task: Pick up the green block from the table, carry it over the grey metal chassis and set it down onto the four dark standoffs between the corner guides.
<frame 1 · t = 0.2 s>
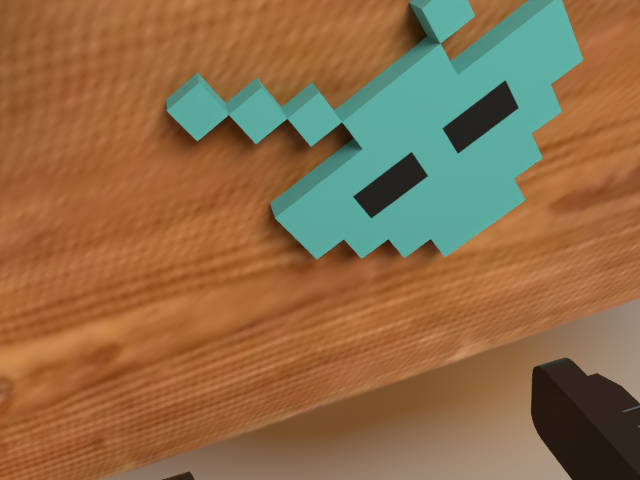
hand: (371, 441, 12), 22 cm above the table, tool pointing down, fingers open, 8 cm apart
alien figure: (403, 112, 33), on the table
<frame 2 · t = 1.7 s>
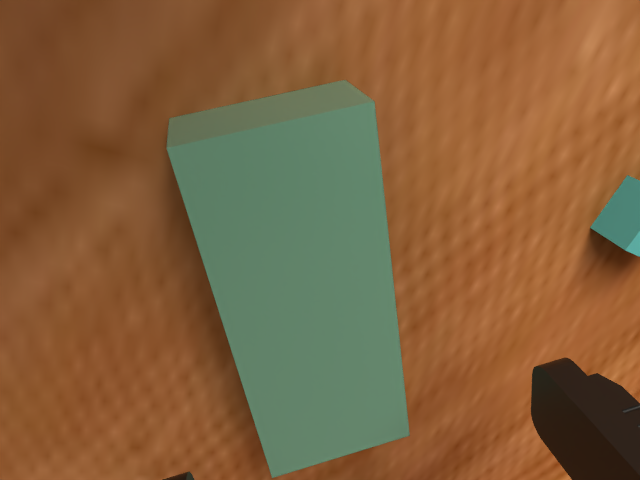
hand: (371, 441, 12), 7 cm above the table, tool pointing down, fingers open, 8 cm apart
green block: (295, 270, 18), on the table
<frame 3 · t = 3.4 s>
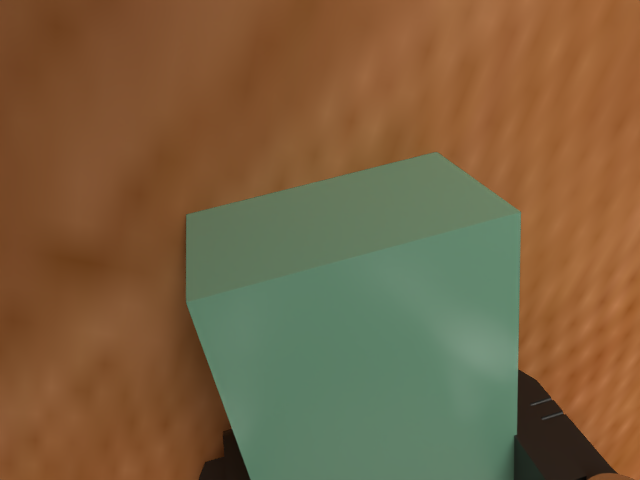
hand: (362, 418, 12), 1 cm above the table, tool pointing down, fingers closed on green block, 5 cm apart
green block: (357, 403, 13), on the table, touching gripper
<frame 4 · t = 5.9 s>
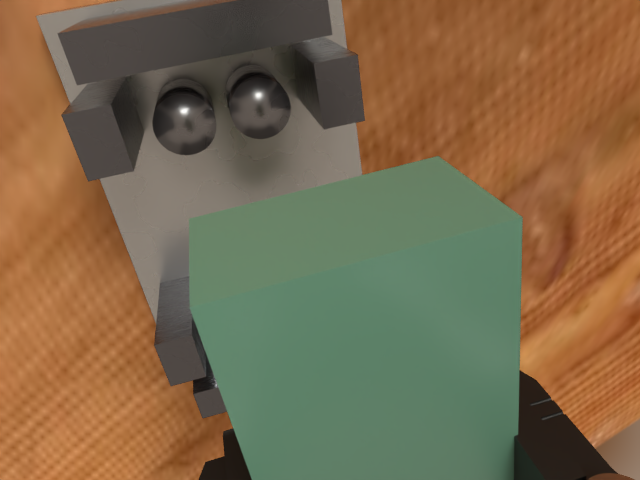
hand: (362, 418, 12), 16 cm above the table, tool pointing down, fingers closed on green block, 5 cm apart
chassis: (240, 184, 26), on the table
green block: (358, 406, 13), point 15 cm above the table, touching gripper
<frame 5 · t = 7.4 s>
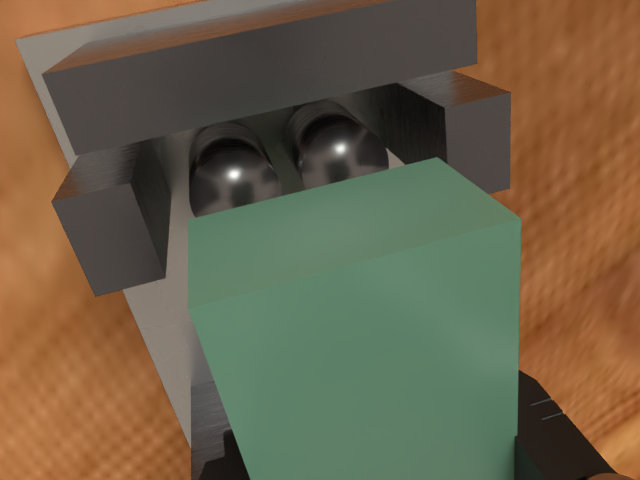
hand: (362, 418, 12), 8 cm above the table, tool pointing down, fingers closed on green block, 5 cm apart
chassis: (296, 256, 19), on the table
green block: (357, 407, 13), point 8 cm above the table, touching gripper
when the fingers open (6 cm above the table, at t = 8.7 s): green block drops 1 cm, resting on chassis.
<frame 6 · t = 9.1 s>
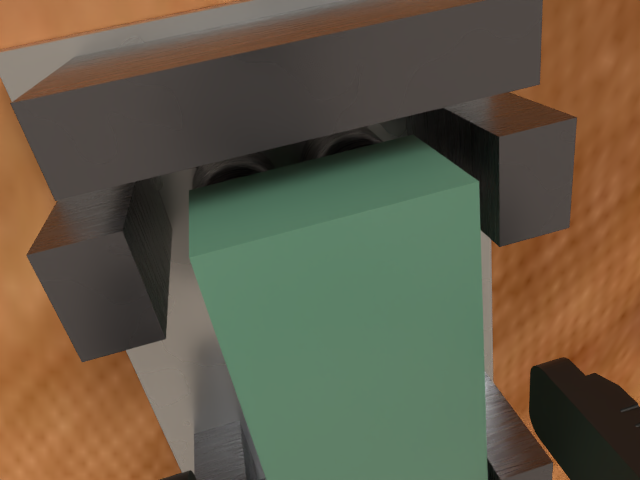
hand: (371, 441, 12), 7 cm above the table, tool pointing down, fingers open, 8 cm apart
chassis: (311, 288, 18), on the table
green block: (345, 368, 14), point 4 cm above the table, touching chassis
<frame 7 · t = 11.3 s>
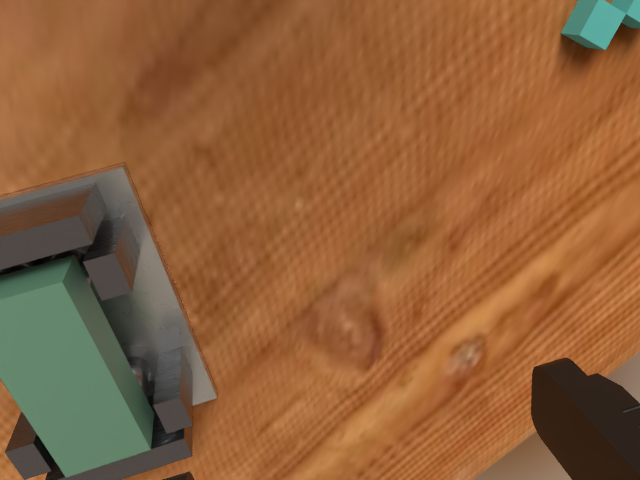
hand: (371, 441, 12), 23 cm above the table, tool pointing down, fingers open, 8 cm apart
chassis: (85, 315, 34), on the table
green block: (75, 354, 30), point 4 cm above the table, touching chassis
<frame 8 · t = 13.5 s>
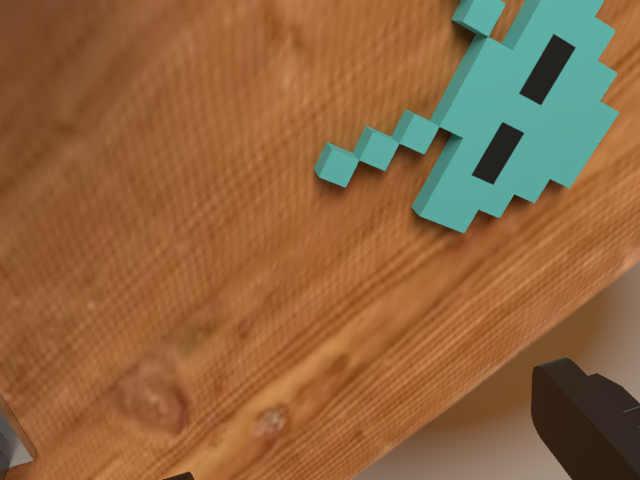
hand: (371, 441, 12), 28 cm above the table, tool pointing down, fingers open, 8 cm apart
alien figure: (482, 95, 40), on the table
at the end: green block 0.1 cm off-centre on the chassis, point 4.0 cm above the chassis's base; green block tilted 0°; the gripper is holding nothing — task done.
